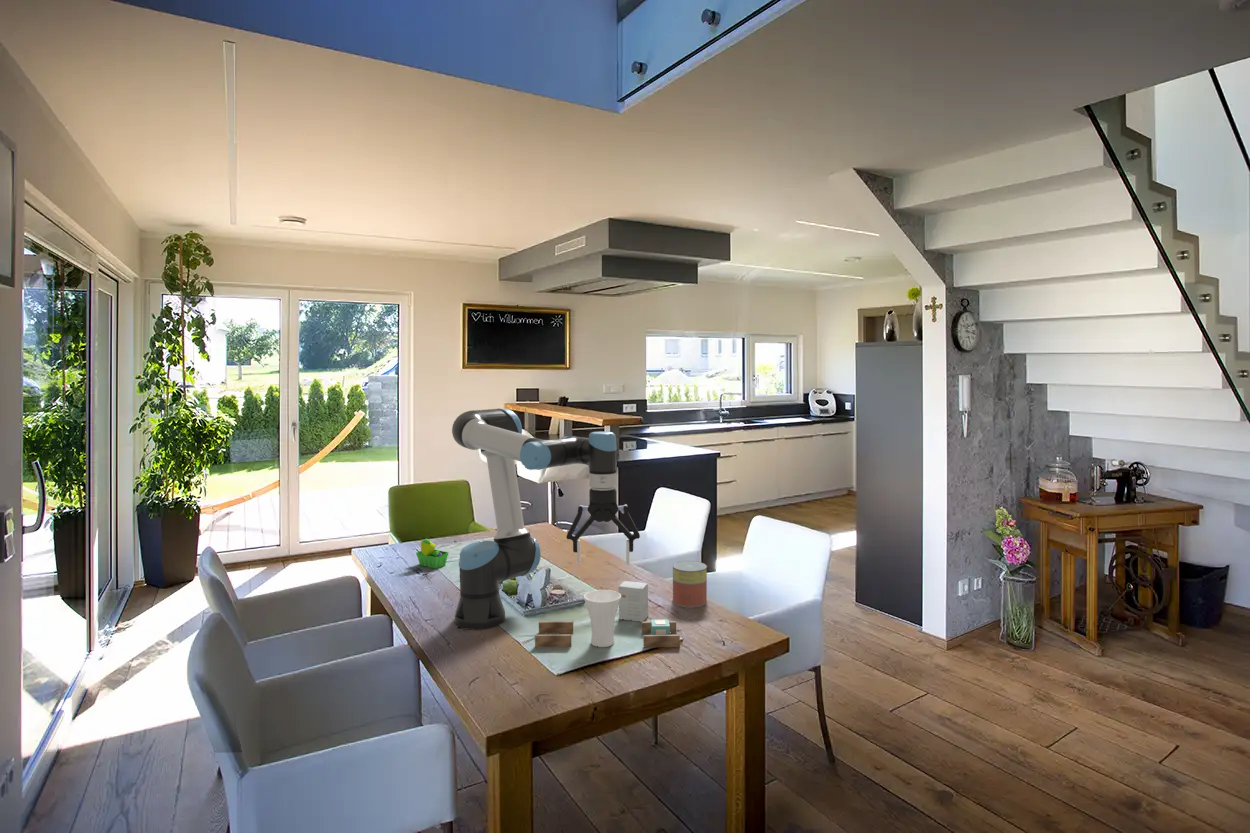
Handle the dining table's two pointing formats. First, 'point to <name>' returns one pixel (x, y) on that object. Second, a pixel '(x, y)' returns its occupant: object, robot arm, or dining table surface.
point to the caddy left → (554, 639)
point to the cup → (602, 615)
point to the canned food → (689, 584)
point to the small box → (633, 601)
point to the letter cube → (660, 627)
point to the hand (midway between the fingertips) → (603, 563)
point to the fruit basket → (431, 555)
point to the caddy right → (660, 637)
